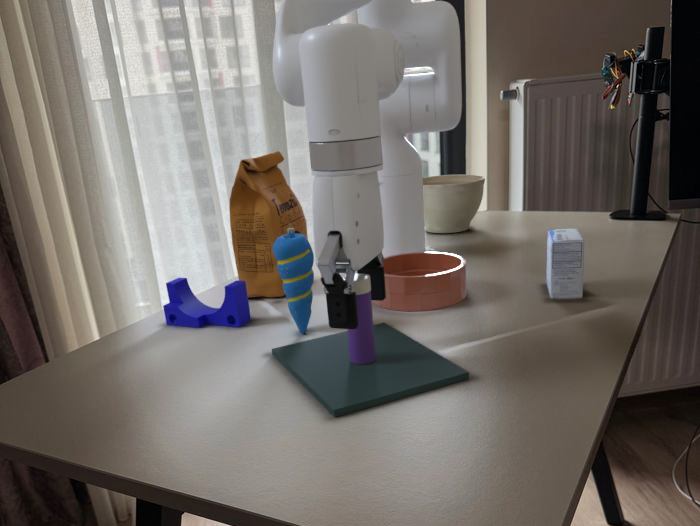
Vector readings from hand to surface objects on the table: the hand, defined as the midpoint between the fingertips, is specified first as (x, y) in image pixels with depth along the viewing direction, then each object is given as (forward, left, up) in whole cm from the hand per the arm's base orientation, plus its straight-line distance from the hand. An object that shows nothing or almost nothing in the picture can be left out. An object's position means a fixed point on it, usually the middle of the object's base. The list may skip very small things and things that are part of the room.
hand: (359, 312), depth 74 cm
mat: (0, 0, -7) cm, 7 cm away
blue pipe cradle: (-28, -12, -7) cm, 31 cm away
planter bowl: (-57, +48, -7) cm, 75 cm away
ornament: (-15, -2, -7) cm, 17 cm away
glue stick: (0, 0, -6) cm, 6 cm away
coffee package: (-37, +2, -7) cm, 38 cm away
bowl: (-18, +18, -7) cm, 26 cm away
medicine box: (-7, +36, -7) cm, 37 cm away
